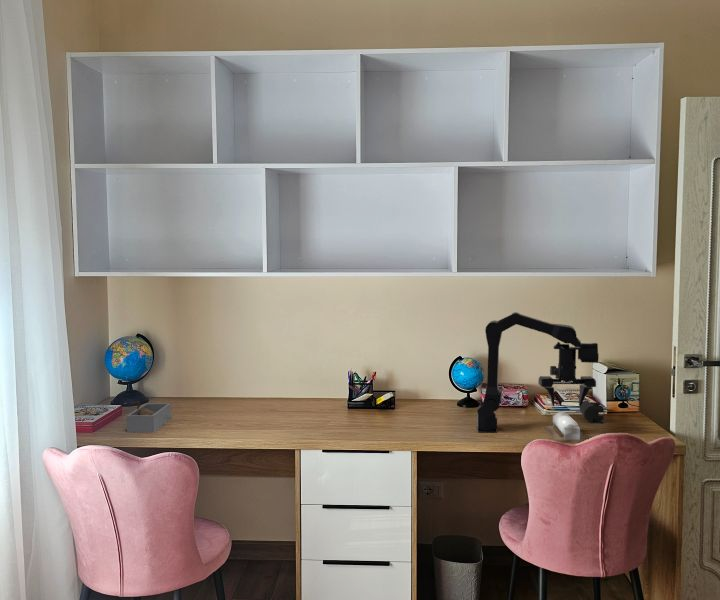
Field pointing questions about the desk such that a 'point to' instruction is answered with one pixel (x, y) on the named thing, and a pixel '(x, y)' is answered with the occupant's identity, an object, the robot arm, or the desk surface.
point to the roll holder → (565, 434)
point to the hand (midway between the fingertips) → (566, 405)
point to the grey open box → (143, 410)
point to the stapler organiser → (149, 418)
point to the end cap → (592, 411)
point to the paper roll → (563, 421)
